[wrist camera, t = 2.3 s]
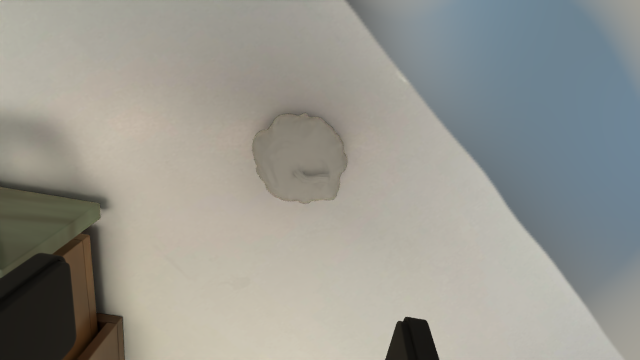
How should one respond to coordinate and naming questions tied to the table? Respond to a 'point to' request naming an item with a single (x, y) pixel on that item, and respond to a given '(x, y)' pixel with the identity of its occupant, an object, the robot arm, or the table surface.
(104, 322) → the cabinet
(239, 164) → the table surface
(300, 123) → the garlic
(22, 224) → the drawer
